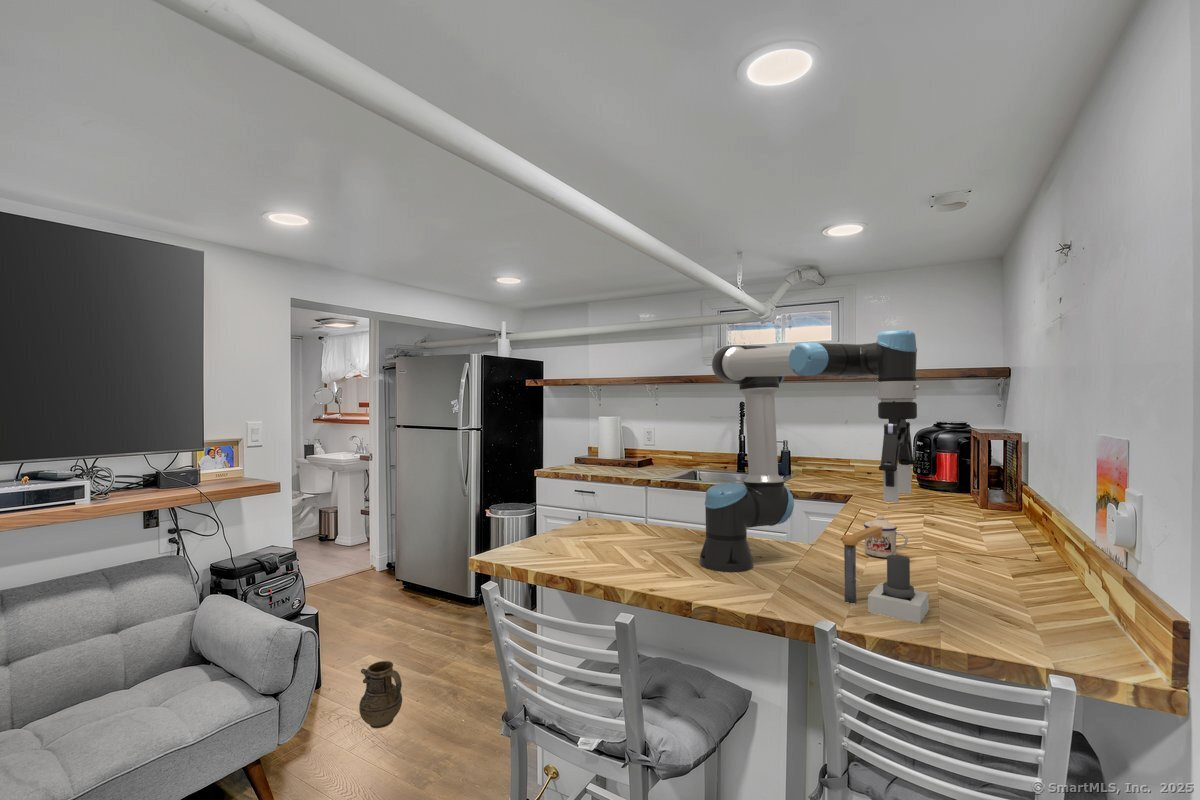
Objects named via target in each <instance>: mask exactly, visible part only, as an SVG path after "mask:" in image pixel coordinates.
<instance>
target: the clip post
mask: <svg viewBox="0 0 1200 800" xmlns="http://www.w3.org/2000/svg"><path fill="white" fill-rule="evenodd" d="M843 545H844V546H843V548H844V549H843V550H844V552H843V553H844V554H843V555H844V562H843V563H844V564H843V565H844V603H846V602H849V603H848V604H850V603H855V602H856V603H857V567H856V566H857V561H856V560H857V557H856V555H857V553H856V551H857V545H845V544H843ZM856 603H855V604H856Z"/></svg>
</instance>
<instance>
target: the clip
mask: <svg viewBox="0 0 1200 800" xmlns="http://www.w3.org/2000/svg"><path fill="white" fill-rule="evenodd" d="M871 536H873V538H876V539H882V527H880V526H872V527H869V528H867V529H865V528H864V529H863V530H859V531H858V532H855V533H853V534H843V535H842V542H841V543H842V544H843V545H844V544H845V545H856V546H857V545H858V544H859V543H860V542H862V541H865V539H867V538H869V537H871Z"/></svg>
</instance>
